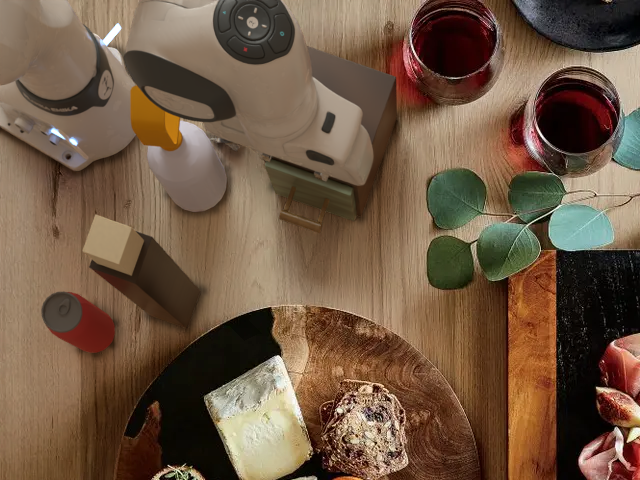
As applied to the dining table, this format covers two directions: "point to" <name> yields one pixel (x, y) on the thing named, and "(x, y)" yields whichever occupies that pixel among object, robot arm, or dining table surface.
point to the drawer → (310, 194)
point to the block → (113, 245)
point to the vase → (233, 145)
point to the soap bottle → (178, 155)
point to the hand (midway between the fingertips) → (295, 164)
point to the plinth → (155, 284)
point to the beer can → (78, 321)
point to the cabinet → (371, 96)
